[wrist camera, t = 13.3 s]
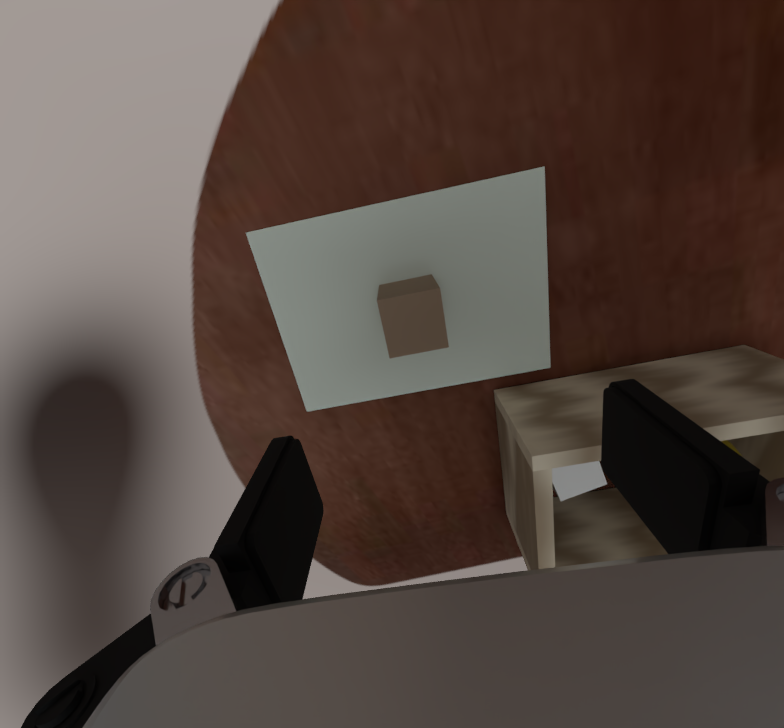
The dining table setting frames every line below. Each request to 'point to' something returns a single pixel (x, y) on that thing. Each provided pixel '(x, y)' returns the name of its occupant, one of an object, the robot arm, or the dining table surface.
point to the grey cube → (577, 479)
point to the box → (584, 443)
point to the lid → (412, 291)
